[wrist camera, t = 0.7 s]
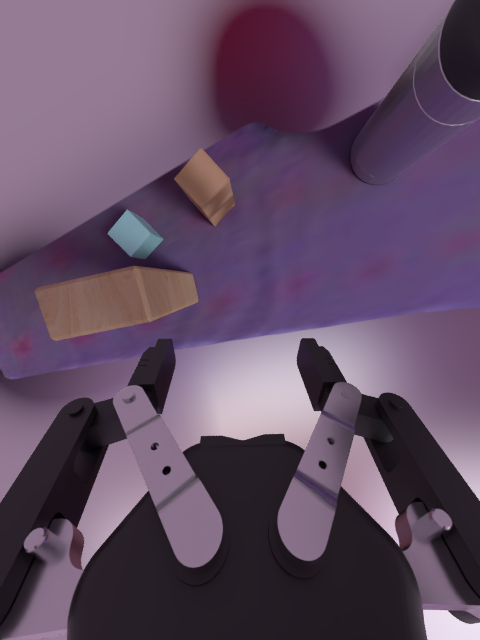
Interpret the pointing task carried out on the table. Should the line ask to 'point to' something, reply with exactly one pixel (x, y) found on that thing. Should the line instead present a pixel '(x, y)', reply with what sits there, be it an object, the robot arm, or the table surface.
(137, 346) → the table surface
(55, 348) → the table surface
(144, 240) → the teal cube
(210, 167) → the tan long block
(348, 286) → the table surface
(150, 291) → the decorative block
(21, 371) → the table surface
